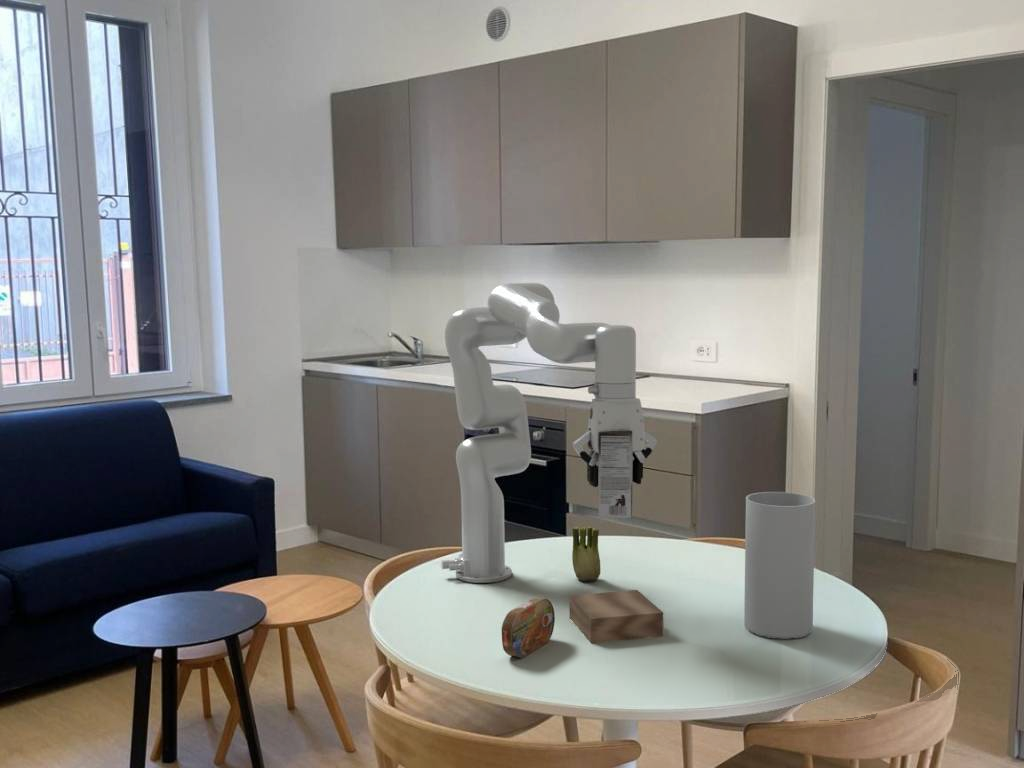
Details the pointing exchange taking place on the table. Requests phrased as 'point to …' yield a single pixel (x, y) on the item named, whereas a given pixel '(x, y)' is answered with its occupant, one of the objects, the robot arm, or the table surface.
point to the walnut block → (615, 616)
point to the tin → (528, 627)
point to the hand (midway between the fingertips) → (615, 483)
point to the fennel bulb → (586, 554)
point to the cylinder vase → (779, 564)
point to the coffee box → (615, 474)
